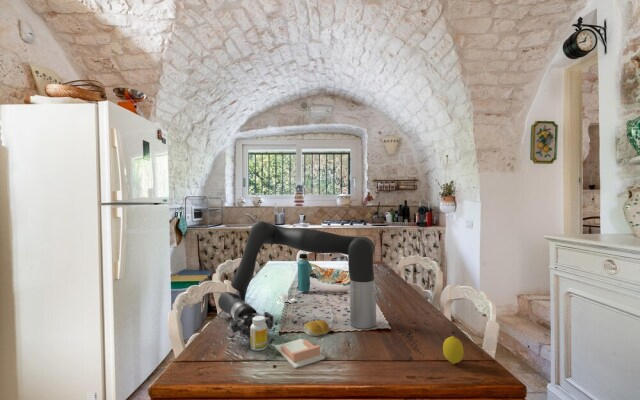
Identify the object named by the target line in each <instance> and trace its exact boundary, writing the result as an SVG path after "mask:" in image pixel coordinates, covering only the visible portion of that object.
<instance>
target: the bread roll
mask: <svg viewBox="0 0 640 400" xmlns="http://www.w3.org/2000/svg"><path fill="white" fill-rule="evenodd" d="M329 331H330V326H329V324H328V322H326V321H325V320H322V319H321V320H314V321H309V322H306V323H305V325H304V327H303V332H304V333H305V334H306V335H307V336H309V337H320V336H322V335H327V334H328V333H329Z"/></svg>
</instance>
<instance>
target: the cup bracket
mask: <svg viewBox="0 0 640 400" xmlns="http://www.w3.org/2000/svg"><path fill="white" fill-rule="evenodd" d="M274 349H276V350H277V352H278V353H280V354H281V356H282V357H283V358H284V359H286V360H287V362H289V364H291V366H292V367H293V368H294V369H296V368H300V367H304V366H306V365H309V364H312V363H316V362H318V361H323V360H325V359H326V357H325V356H324V354H321V346H320V345H313V344H312V343H311V342H310V341H309V340H308V339H303V338H299V339H295V340H292V341H289V342H283V343H281V344H277V345H274Z"/></svg>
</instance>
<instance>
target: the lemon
mask: <svg viewBox="0 0 640 400" xmlns="http://www.w3.org/2000/svg"><path fill="white" fill-rule="evenodd" d="M442 353H443V356H444V357H445V359H446V360H447V361H448V362H450V363H451V364H452V365H455V364H457V363H460V362H461V361H462V360H463V358H464V354H465V353H464V346H463V344H462V342H461V340H460V339H458V338H457V337H455V336H454V335H452V336H449V337H447V338H446V339H444V341H443V344H442Z"/></svg>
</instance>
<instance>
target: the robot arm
mask: <svg viewBox="0 0 640 400" xmlns="http://www.w3.org/2000/svg"><path fill="white" fill-rule="evenodd" d="M263 245H280V246H287V247H289V248H292V249H295V250H299V251H303V252H305V253H306V252H307V253H312V254H313V253H314V254H340V255H341V254H342V255H345V256H348V257H347V262H348V273H349V302H350V303H349V304H350V305H349V306H350V307H349V308H350V309H349V310H350V311H349V313H350V317H349V318H350V319H349V320H350V322H349V323H350V325H351V327H353V328H356V329H362V330H363V329H364V330H365V329H370V328H371V329H372V328H373V326H374V327H377V301H376V300H375V273H374V264H373V263H374V259H373V258H374V254H375V250H376V245H375V243H374V242H373V241H372V240H371V239H370V238H368V237H366V236H355V235H353V236H351V235H340V234H336V233H332V232H330V231H329V232H327V231H323V230H319V229H312V228H306V227H304V228H303V227H299V228H298V227H296V228H291V227H288V228H287V227H284V226H279V225H275V224H273V223H270V222H266V221H262V220H261V221H256V222H254V223H253V224H252V226H251V227H250V230H249V232H248V237H247V240H246V244H245V248H244V250H243V253H242V257H241V260H240V262H239V265H238V267H237V269H236V271H235V273H234V275H233V278H232V281H231V283H230V286H231V288H233V289H234V290H235V291H238V292H237V293H238V294H237V293H233V292H230V291H224V292H223V293H221V294H220V295H219V298H218V300H217V304H218V305H217V306H218V308H219V309H220V310H222V311H224V313H227V314H229V315H230V316H231V317H232V318H231V319H229V328H230V329H231V331H232V333H237V331H238V332H239V333H241V334H242V335H244V336H247V335H248V329H249V328H250V327H251V325H252V324H253V322H252V321H253V317H256V316H264V317H265V322H264V323H266V324H267V329H269V330H272V329H273V326H274V315H272V314H270V313H269V312H268V311H265V312H263V314H259V313H258V312H257V310H256V309H255V308H254V307H253V306H252V305H251V304H249V303H248V302H246V297H247V292H248V287H249V285H250V283H251V281H252V278H253V277H254V273H255V269H256V263H257V257H258V254H259V253H260V250H261V248H262V247H263Z"/></svg>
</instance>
